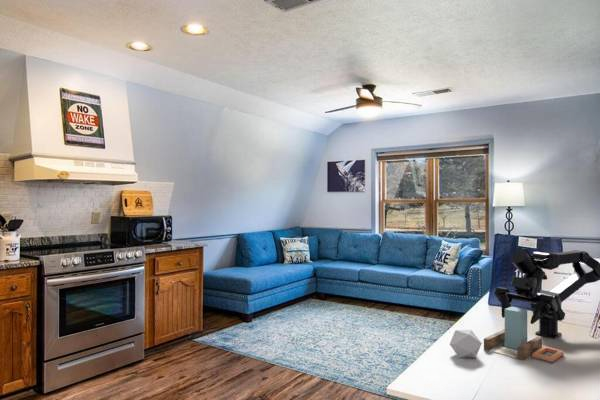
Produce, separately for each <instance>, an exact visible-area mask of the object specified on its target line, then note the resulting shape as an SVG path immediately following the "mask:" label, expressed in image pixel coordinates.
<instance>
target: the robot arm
mask: <svg viewBox="0 0 600 400" xmlns="http://www.w3.org/2000/svg"><path fill="white" fill-rule="evenodd" d="M509 259H510V262H511V264H513V266H514V267H515V268H516V269H517V270H518V272H520V273H521V274H523V277H522V276H515V275H514V276H512V280H511V284H510V286H511V287H512V288H513V290H514V292H516V293H512V292H510V290H509V288H506V287H500V286H498V287H495V289H494V291H493V293H494V295H495V297H496V299H497V300H498V301H499V302H500V304H501V317H502V318H503V319H505V309H506V308H509V307H511V305H512V304H511V303H512V301H513V300H514V301H520V302H524V303H530V308H531V311H532V315H531V319H530V324H531V325H533V324H536V323H537V321H538V327H539V329H538V330H537V331H535V335H538V336H543V337H547V338H552V339H557V338H558V337H560V336H562V332H559V324H558V323H559V322H562V321H564V320H565V317H566V312H564V310H563V309H562V303H563V302H564V301H565V300H567V299H568V298H569V297H571V296H572V295H573V294H575V293H576V292H577V291H578V290H580V289H581V288H582V287H584V286H585V285H586V284H591V283H596V282H599V281H600V262H599V261H598V260H597V259H595V258H594V257H592V256H591V255H590V254H589V252H587V251H585V250H577V249H573V250H569V251H561V252H560V251H559V252H552V253H551V252H544V251H538V250H537V251H533V253H532V254H531V252H530V250H529V249H528V248H521V250H518V251H515V252H514V253H513V254H511V256H510V258H509ZM579 262H580V263H579ZM566 264H572V268H573V274H572V275H570V276H569V277H567V278H566V279H565V280H564V281H562V282H561V283H559V284H558V285H557V286H555V287H554V288H553V289H551V290H546V289H540V288H541V285H542V283H543V280H548V276H547V275H546V272H545V270H549V271H551V270H555V269H557V268H559V266H561V265H566ZM543 269H544V270H543Z"/></svg>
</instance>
